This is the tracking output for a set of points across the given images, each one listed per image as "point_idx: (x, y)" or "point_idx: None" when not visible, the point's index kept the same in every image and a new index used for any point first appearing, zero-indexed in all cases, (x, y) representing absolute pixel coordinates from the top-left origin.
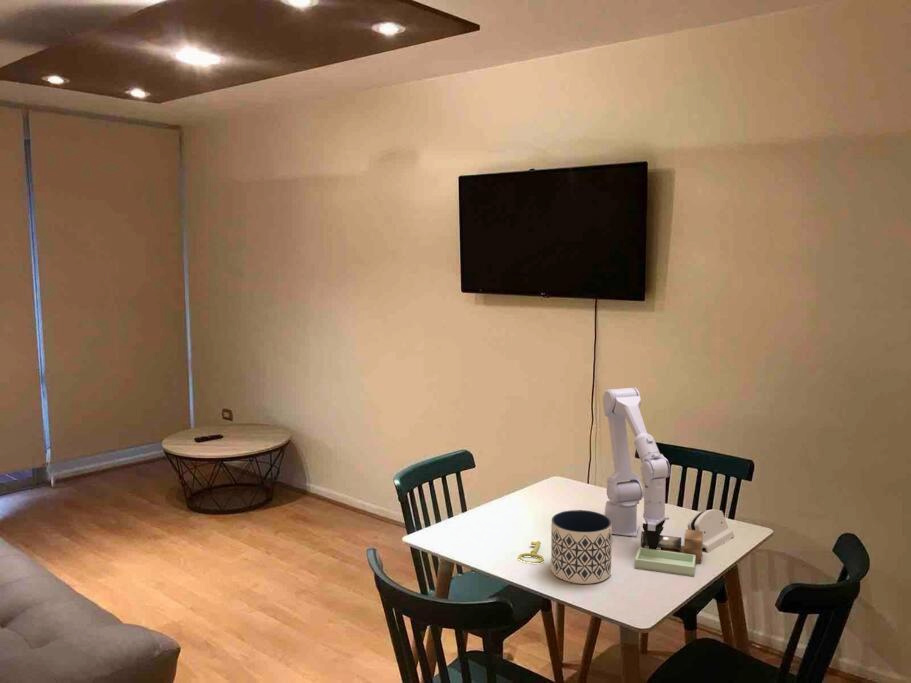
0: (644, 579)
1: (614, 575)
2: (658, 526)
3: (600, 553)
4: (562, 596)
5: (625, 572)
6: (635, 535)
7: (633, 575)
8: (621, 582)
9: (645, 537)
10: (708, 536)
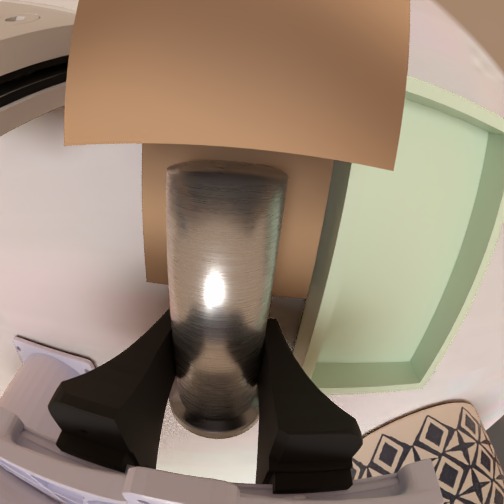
0: (489, 321)
1: (445, 393)
2: (287, 458)
3: (500, 466)
4: (490, 426)
5: (435, 377)
6: (88, 364)
7: (459, 354)
8: (485, 370)
9: (244, 408)
10: (23, 9)
